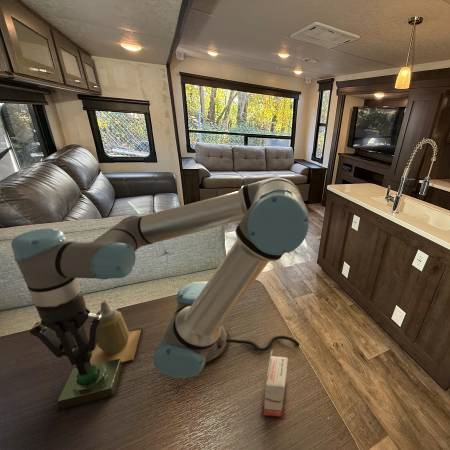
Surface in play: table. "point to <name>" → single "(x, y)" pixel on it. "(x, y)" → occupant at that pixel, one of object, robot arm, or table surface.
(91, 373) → the button
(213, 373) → the table surface
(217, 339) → the robot arm
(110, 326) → the squeeze bottle
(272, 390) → the ink cartridge box
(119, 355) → the oak mat
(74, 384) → the green buzzer pad
